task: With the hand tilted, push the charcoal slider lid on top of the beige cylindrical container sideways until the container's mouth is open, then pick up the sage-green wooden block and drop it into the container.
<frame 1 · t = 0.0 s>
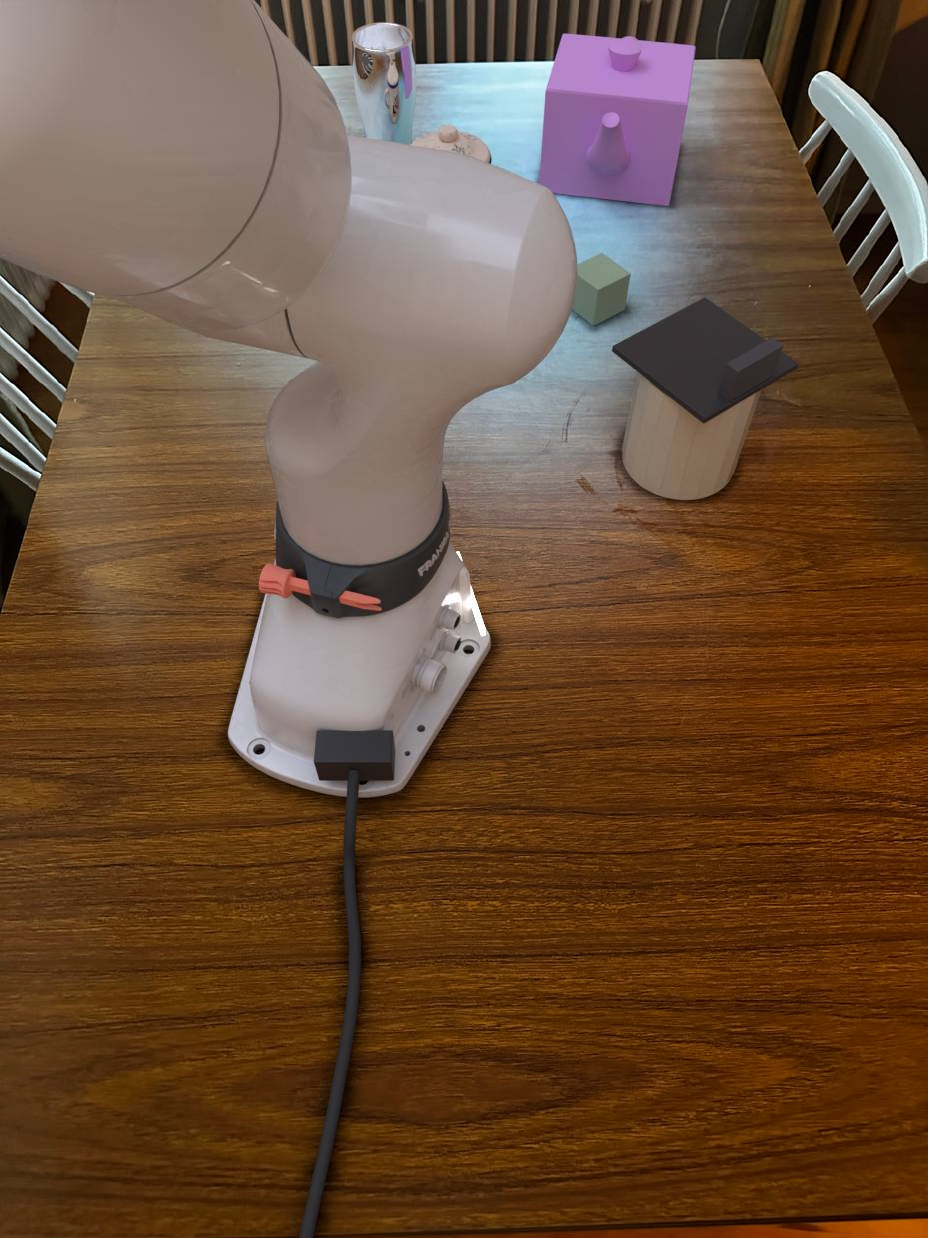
silver metal cup: (391, 172, 114), on the table
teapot: (608, 175, 114), on the table
block: (595, 307, 99), on the table
teacup with lid: (436, 232, 107), on the table
slider lid: (708, 342, 76), point 13 cm above the table, slide at 0.0 cm
beige cylindrical container: (677, 458, 87), on the table
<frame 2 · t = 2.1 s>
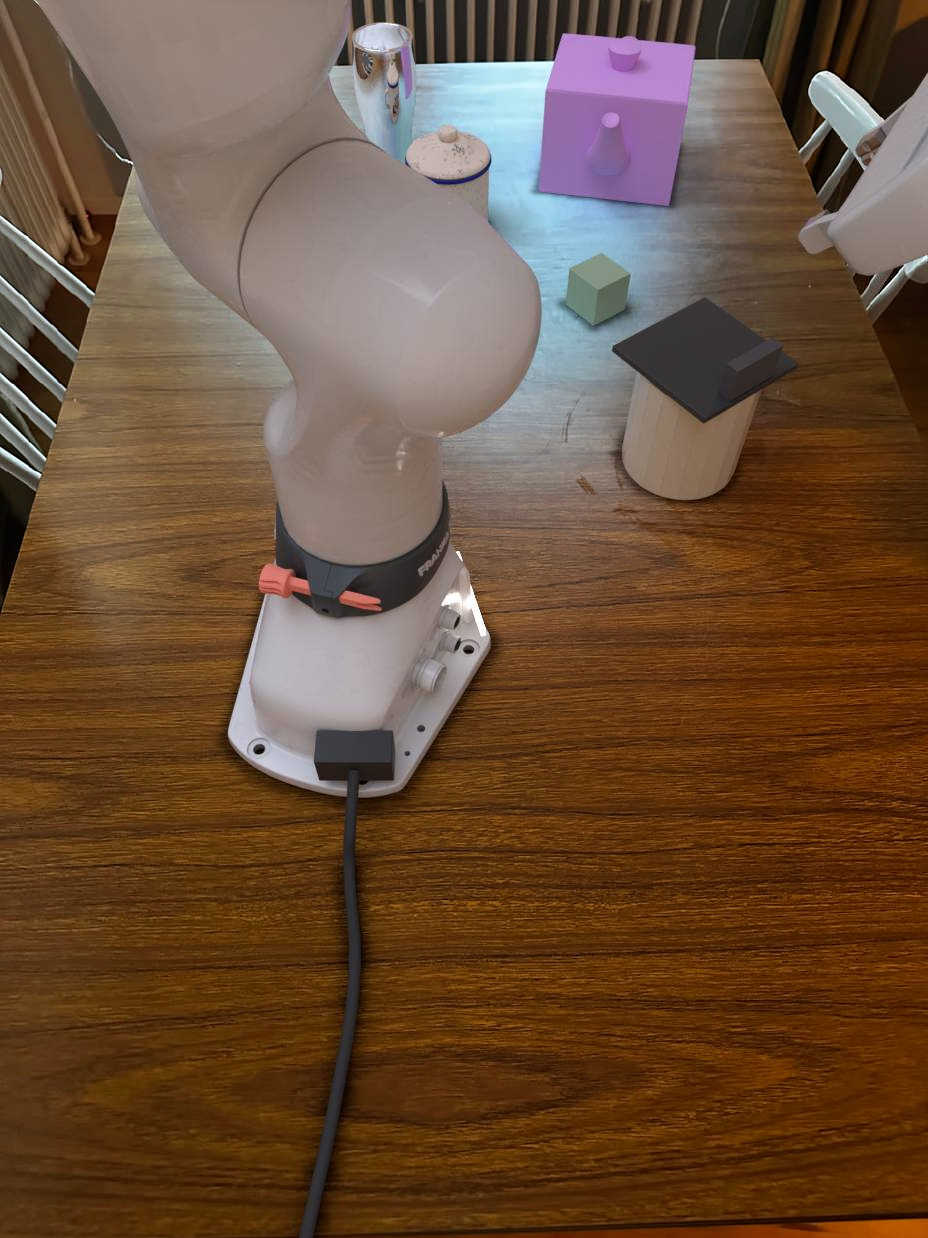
hand: (836, 194, 63), 27 cm above the table, tool tilted 40°, fingers open, 8 cm apart
nothing on the table moved.
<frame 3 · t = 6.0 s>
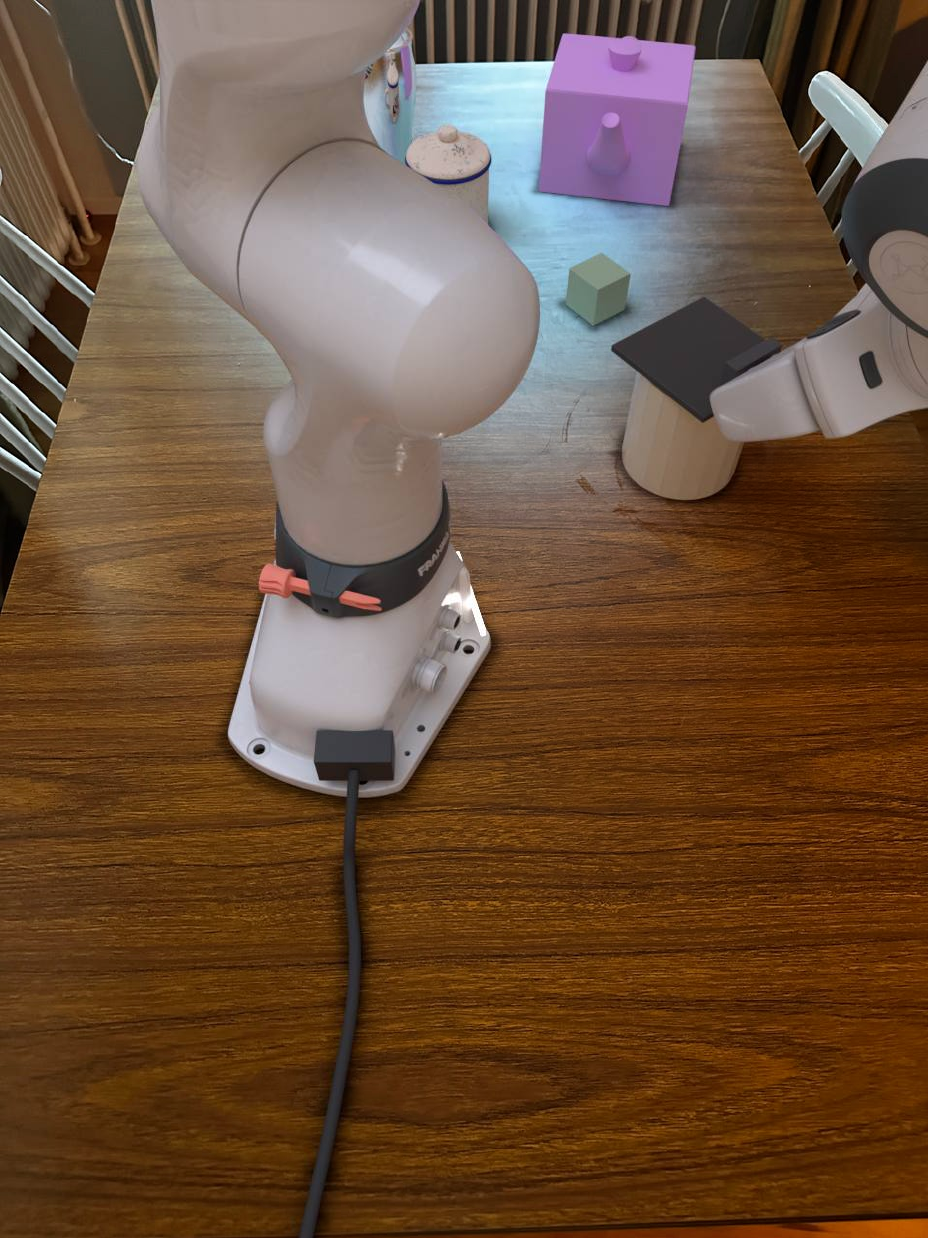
hand: (762, 373, 73), 14 cm above the table, tool tilted 45°, fingers closed, pressing on slider lid
slider lid: (707, 341, 76), point 13 cm above the table, slide at 0.1 cm, touching gripper
everything else where it was.
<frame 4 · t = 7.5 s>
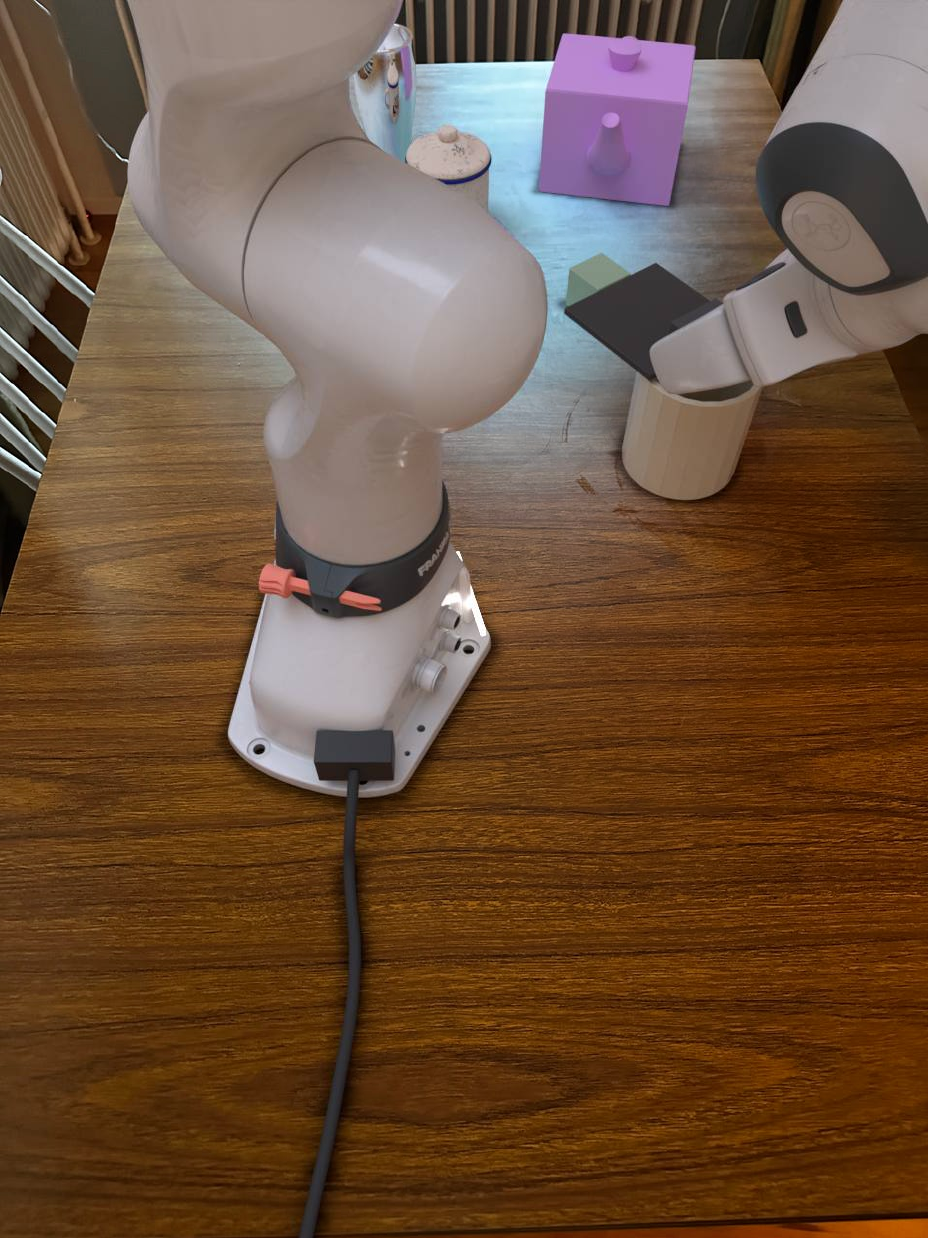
hand: (706, 333, 76), 14 cm above the table, tool tilted 45°, fingers closed, pressing on slider lid
slider lid: (655, 303, 79), point 13 cm above the table, slide at 6.1 cm, touching gripper
everything else where it was.
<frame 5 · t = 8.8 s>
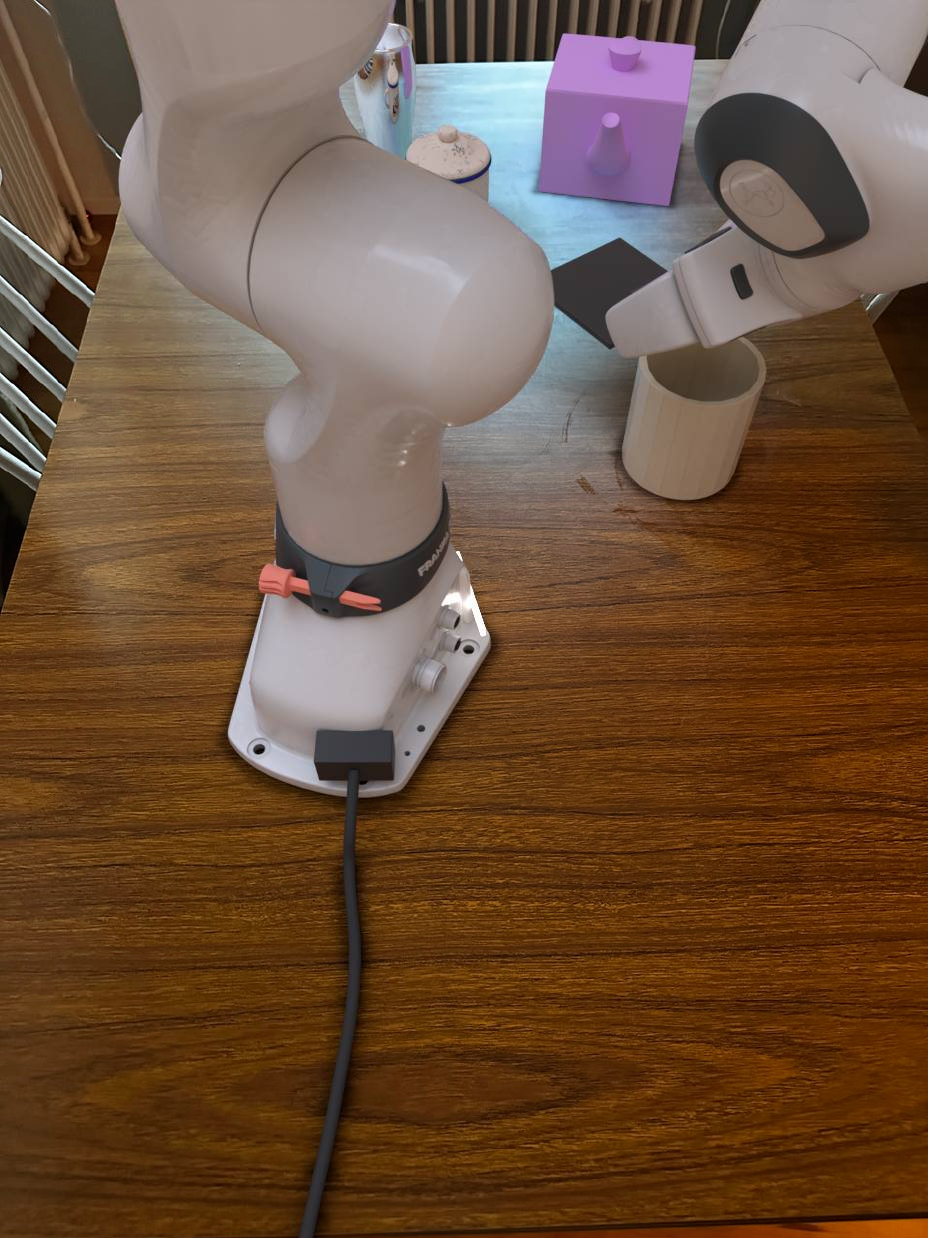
hand: (665, 302, 78), 14 cm above the table, tool tilted 45°, fingers closed, pressing on slider lid
slider lid: (617, 275, 81), point 13 cm above the table, slide at 10.8 cm, touching gripper
everything else where it was.
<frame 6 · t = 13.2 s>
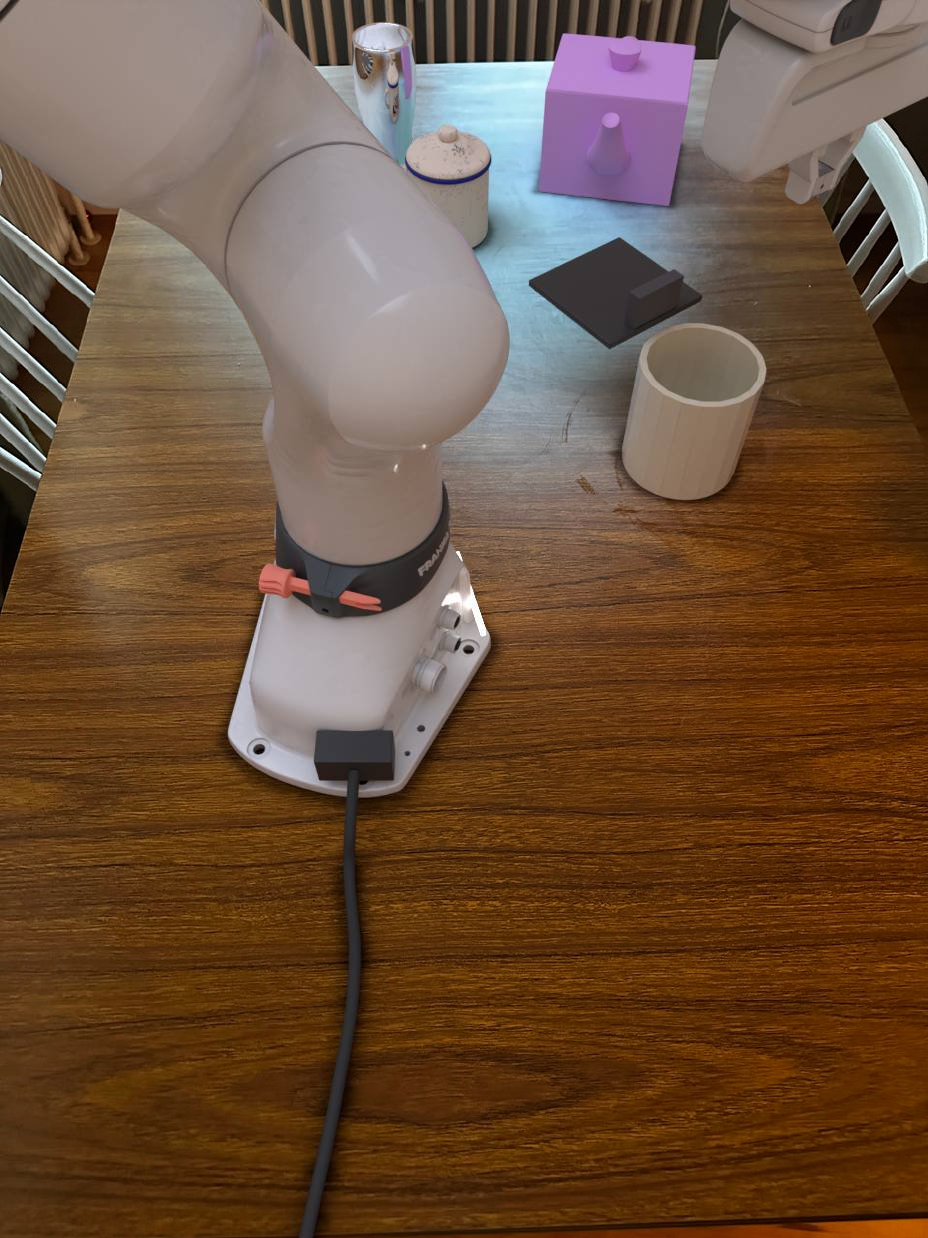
hand: (807, 193, 64), 27 cm above the table, tool pointing down, fingers closed
slider lid: (617, 275, 81), point 13 cm above the table, slide at 10.8 cm
everything else where it was.
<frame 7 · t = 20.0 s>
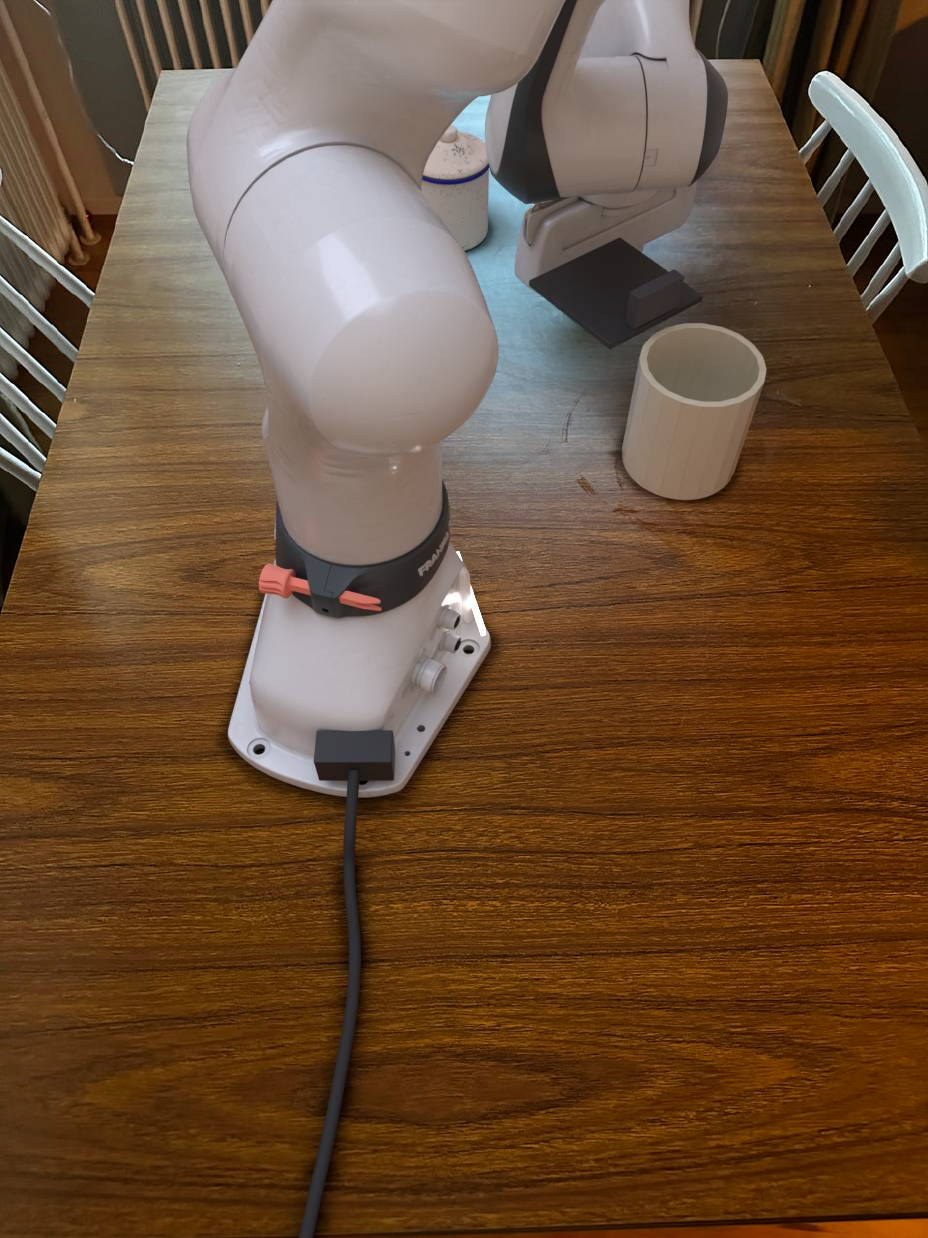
hand: (597, 292, 98), 2 cm above the table, tool pointing down, fingers closed on block, 4 cm apart
block: (594, 307, 99), on the table, touching gripper
everything else where it was.
when the fingers open (12 cm above the table, at t = 26.1 s): block drops 10 cm, resting on beige cylindrical container.
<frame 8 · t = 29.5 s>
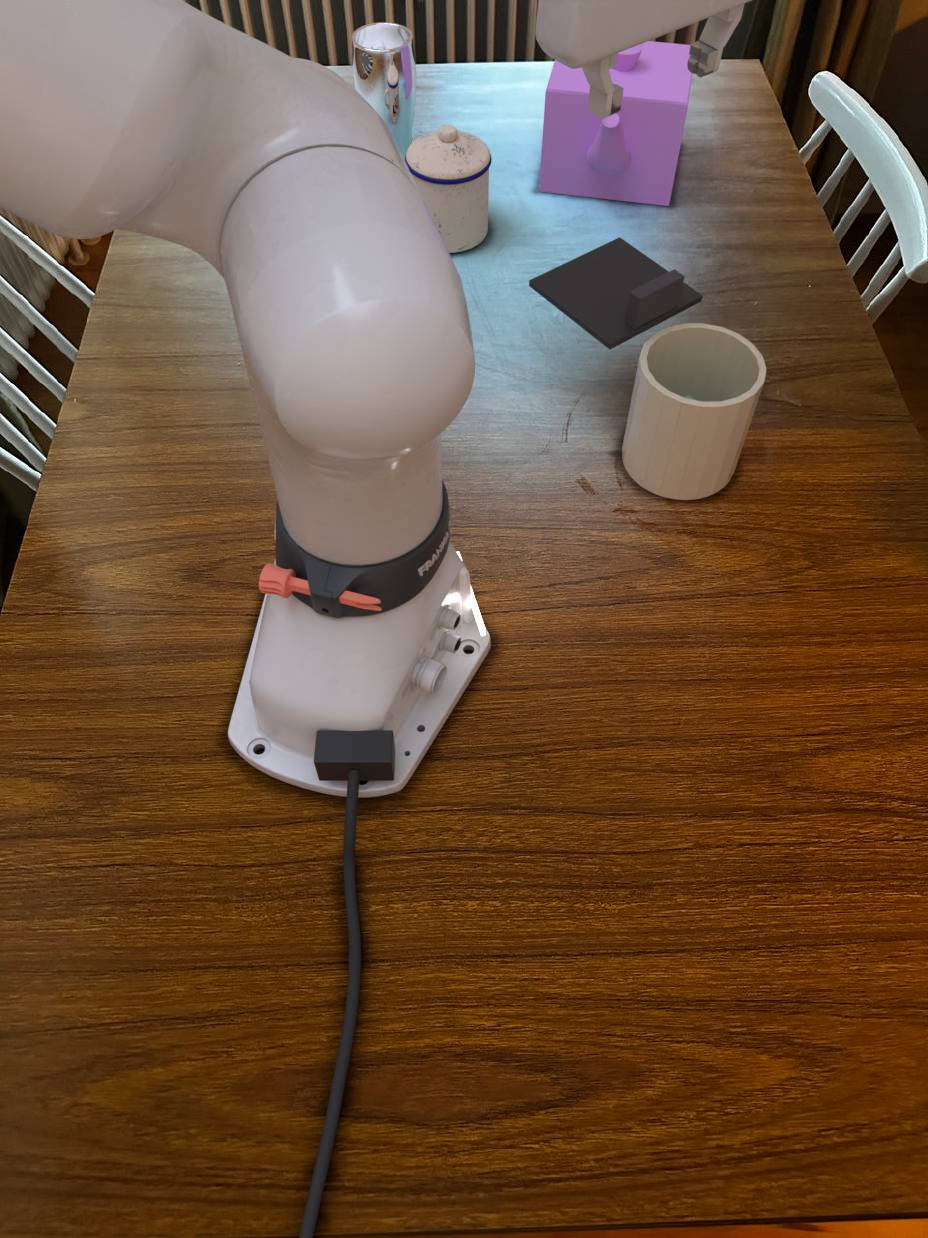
hand: (653, 91, 67), 29 cm above the table, tool pointing down, fingers open, 8 cm apart
block: (679, 454, 86), resting on beige cylindrical container
everything else where it was.
at the end: slider lid slide at 10.8 cm; block inside the target area in the beige cylindrical container (0.0 cm from its centre), point 0.5 cm above the beige cylindrical container's base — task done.
